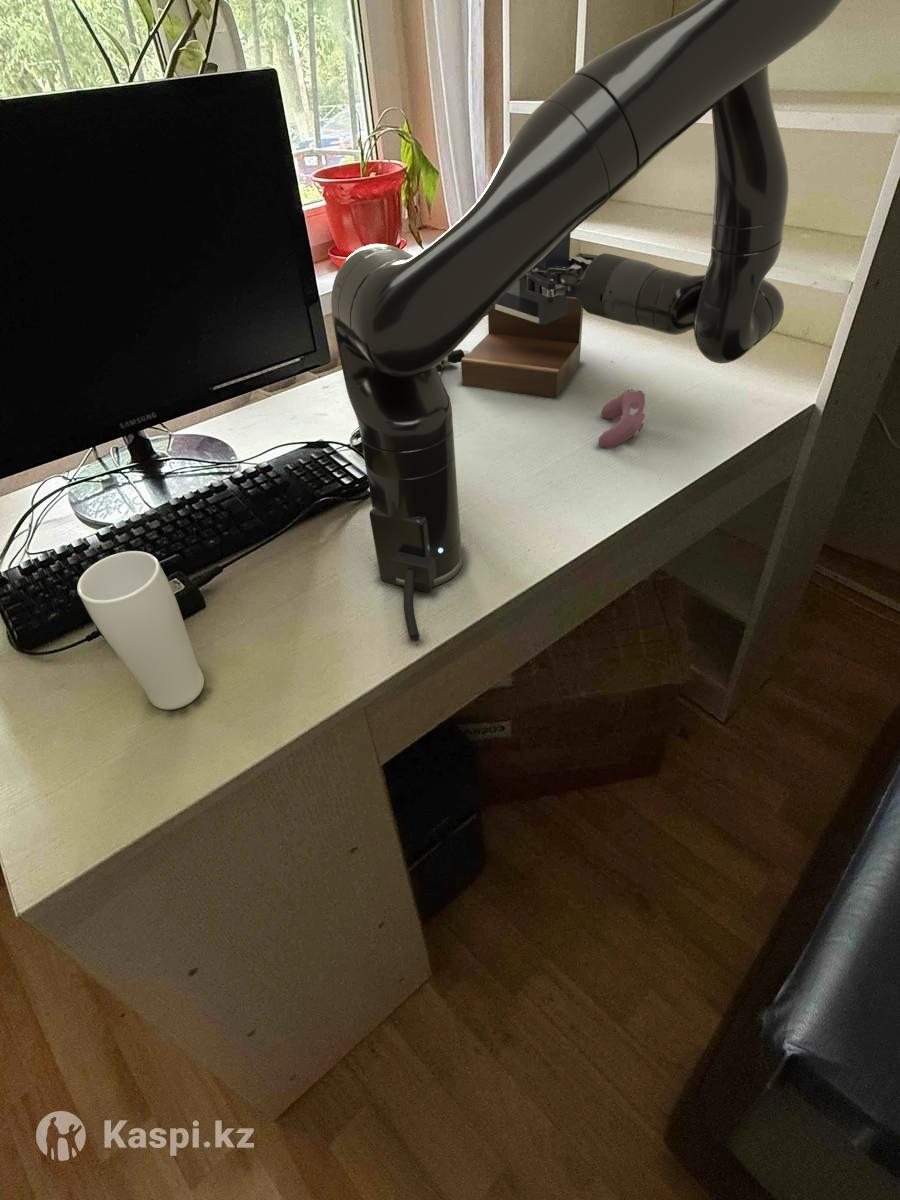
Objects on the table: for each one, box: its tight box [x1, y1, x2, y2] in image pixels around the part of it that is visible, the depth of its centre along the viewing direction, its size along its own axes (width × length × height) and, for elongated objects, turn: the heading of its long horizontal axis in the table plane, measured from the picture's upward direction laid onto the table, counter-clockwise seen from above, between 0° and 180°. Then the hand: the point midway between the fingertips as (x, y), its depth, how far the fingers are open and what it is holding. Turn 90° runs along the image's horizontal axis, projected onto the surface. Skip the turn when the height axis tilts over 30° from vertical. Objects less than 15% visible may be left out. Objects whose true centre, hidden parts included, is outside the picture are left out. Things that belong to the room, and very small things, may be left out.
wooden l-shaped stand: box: [460, 298, 584, 399], centre depth 110 cm, size 13×16×12 cm
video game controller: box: [598, 387, 646, 449], centre depth 96 cm, size 10×5×7 cm, turn 168°
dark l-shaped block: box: [495, 232, 572, 325], centre depth 99 cm, size 10×5×12 cm, turn 41°
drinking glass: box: [76, 550, 205, 711], centre depth 62 cm, size 7×7×15 cm
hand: (530, 266), depth 99 cm, fingers closed on dark l-shaped block, 5 cm apart
